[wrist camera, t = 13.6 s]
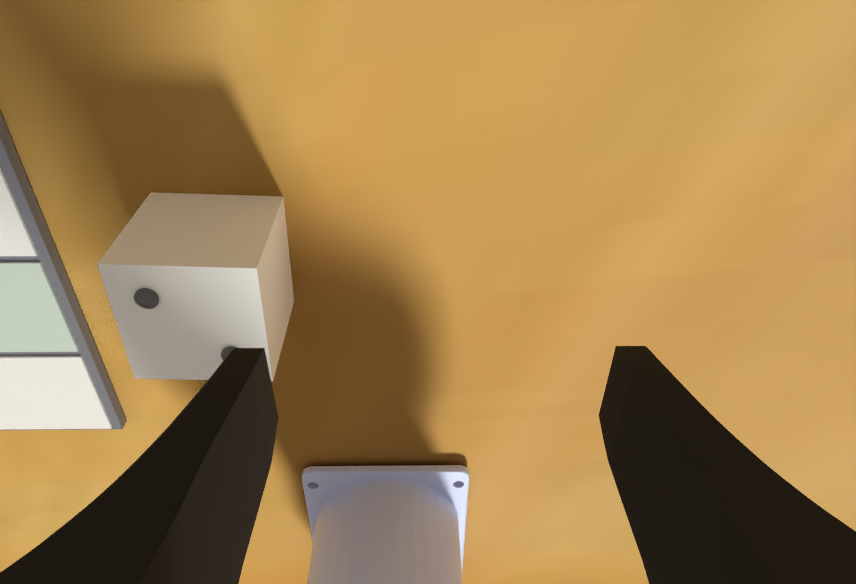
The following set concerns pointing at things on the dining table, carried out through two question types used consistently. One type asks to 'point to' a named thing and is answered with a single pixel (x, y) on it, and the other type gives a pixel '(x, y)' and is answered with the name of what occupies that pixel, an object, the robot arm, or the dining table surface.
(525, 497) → the dining table surface
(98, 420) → the board
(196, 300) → the die
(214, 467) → the robot arm
